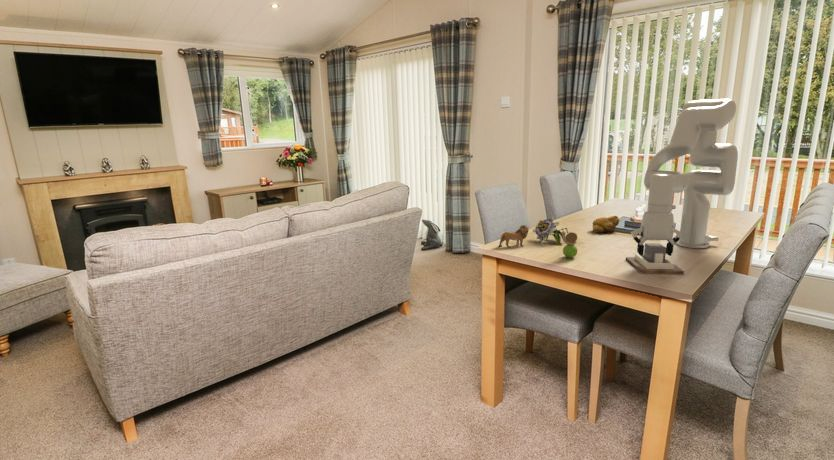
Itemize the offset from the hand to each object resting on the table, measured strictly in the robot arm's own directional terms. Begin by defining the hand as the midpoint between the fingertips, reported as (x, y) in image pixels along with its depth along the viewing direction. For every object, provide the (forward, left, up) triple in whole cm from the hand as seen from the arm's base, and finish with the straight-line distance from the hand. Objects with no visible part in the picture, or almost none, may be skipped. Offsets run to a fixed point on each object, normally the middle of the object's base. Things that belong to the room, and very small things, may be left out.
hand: (654, 254), depth 160 cm
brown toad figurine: (+3, -54, -5) cm, 54 cm away
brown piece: (0, 0, -4) cm, 4 cm away
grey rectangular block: (0, 0, -4) cm, 4 cm away
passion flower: (+31, -35, -5) cm, 47 cm away
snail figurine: (+28, -10, -5) cm, 30 cm away
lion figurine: (+48, -27, -5) cm, 55 cm away
